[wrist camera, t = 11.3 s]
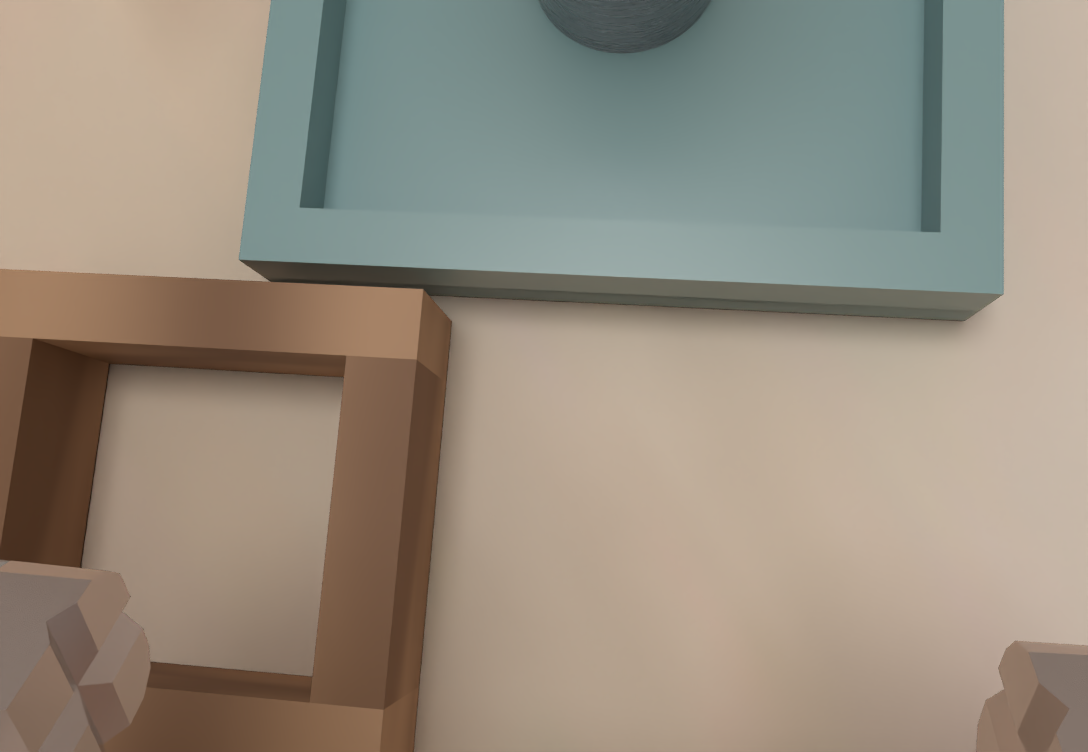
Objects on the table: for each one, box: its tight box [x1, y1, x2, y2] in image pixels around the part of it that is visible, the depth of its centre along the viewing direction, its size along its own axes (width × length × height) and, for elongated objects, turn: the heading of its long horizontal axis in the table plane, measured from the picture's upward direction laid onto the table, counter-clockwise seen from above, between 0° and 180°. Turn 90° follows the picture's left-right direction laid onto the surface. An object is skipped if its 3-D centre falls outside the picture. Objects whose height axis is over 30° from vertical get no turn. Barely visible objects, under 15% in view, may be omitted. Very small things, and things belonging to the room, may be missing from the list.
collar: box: [0, 269, 452, 752], centre depth 18 cm, size 8×8×2 cm
